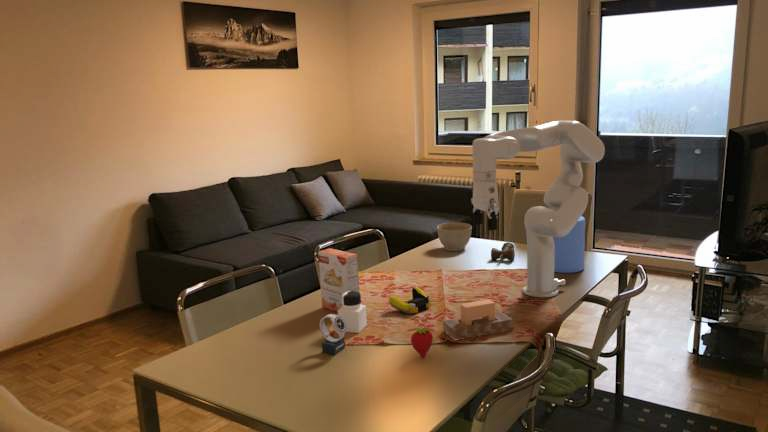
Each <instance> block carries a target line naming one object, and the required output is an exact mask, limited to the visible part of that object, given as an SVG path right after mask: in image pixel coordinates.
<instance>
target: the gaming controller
mask: <svg viewBox="0 0 768 432" xmlns="http://www.w3.org/2000/svg"><path fill="white" fill-rule="evenodd" d="M411 295H412V298H411V300H409V301H405V300H404V301H403V300H402V299H400V298H398V297H397V296H395V295H391V296H389V299H388V302H389V304H390V305H391V306H392V308H394V309H396V310H399V311H401V312H403V313H405V314H406V315H407V314H408V315H411V314H416V313H419V312H423V311H424V310H427V309H429V308H430V306H431V304H432V302H431V301H432V297H431V296H429V295H427V294H426V293H425V292H424V291H423V290H422V289H421V288H420V287H418V286H415V287H413V288H411Z"/></svg>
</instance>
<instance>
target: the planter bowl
mask: <svg viewBox="0 0 768 432" xmlns="http://www.w3.org/2000/svg"><path fill="white" fill-rule="evenodd" d="M472 229H473V226H472V225H471V224H469V223H465V222H446V223H441V224H438V225H437V226H436V230H437V237H438V239H439V242H440V243H441V245H442V246H443V249H444V250H445V251H448V252H461V251H464V250H465V248H466V246H467V245H468V243H469V242H470V240H471V236H472Z"/></svg>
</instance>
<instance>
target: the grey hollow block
mask: <svg viewBox="0 0 768 432" xmlns="http://www.w3.org/2000/svg"><path fill="white" fill-rule="evenodd" d="M442 325H443V327H442V329H443V330H442V332H443V331H445V332H447V333H448V334H449V335H450V336H451V337H453V338H454V339H462V338H468V339H470V338H469V337H473V338H476V337H475V336H478V337H482V336H481V335H484V336H488V334H489V335H493V333H494V334H498V332H499V333H503V332H508V331H513V330H514V319H513V318H512V317H510V316H509V315H507V314H505V313H504V312H502V311H501V310H497V311H496V310H495V321H490V322H488V321H486V320H485V319H484V317H481V318H475V319H472V325H468V326H464V325H463V324H461V317H459V318H453V319H447V320H443V321H442Z"/></svg>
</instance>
